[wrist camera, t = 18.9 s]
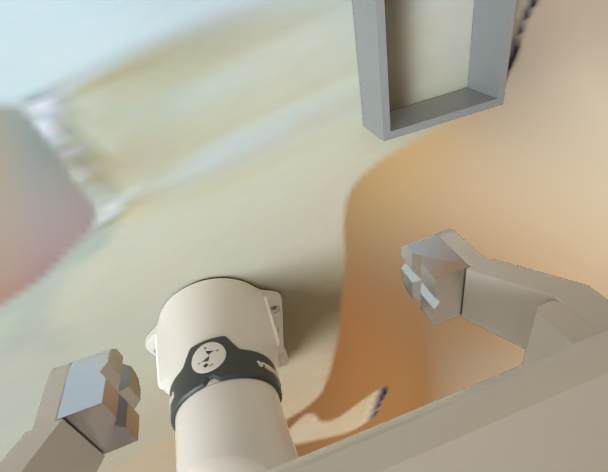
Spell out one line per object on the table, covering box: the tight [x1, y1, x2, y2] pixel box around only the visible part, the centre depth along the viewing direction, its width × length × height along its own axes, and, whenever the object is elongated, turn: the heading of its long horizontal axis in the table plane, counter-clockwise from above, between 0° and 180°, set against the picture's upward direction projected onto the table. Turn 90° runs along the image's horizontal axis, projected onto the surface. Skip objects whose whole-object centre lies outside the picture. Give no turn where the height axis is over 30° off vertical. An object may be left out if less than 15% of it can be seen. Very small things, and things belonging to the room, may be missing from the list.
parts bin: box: [352, 0, 517, 141], centre depth 37 cm, size 15×14×5 cm
